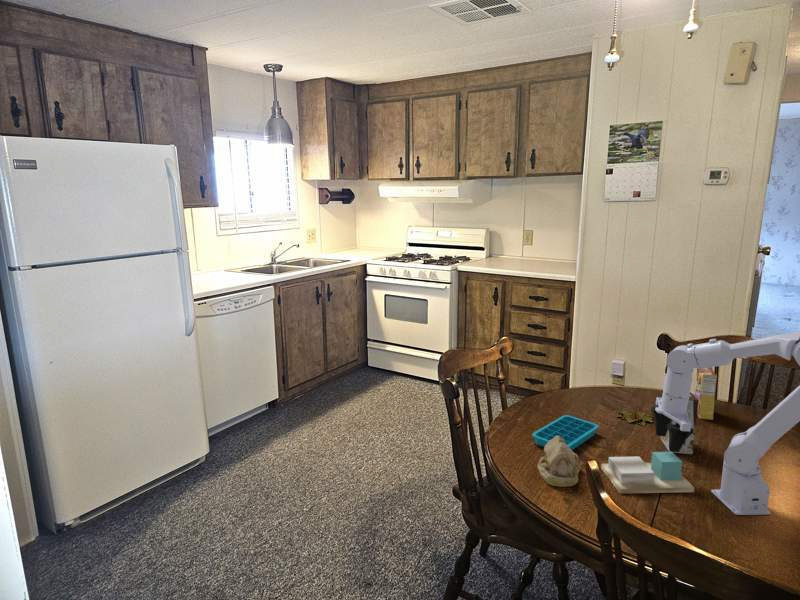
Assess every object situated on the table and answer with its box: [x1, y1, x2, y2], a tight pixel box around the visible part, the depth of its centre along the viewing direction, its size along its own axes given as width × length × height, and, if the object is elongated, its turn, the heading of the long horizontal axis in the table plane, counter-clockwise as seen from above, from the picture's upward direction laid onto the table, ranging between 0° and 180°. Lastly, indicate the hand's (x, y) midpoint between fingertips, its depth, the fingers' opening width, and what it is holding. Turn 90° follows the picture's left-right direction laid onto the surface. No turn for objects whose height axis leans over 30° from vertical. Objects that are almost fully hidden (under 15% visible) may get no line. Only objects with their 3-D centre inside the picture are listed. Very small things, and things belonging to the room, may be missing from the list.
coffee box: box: [659, 391, 699, 455], centre depth 144 cm, size 9×6×16 cm
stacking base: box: [600, 455, 695, 494], centre depth 128 cm, size 12×18×4 cm, turn 90°
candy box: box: [694, 367, 718, 421], centre depth 164 cm, size 9×4×15 cm, turn 160°
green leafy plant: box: [617, 405, 654, 427], centre depth 164 cm, size 12×12×5 cm
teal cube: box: [650, 451, 683, 480], centre depth 128 cm, size 5×5×5 cm
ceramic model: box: [536, 435, 581, 488], centre depth 132 cm, size 14×11×10 cm
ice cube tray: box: [531, 414, 600, 451], centre depth 151 cm, size 12×20×3 cm, turn 133°
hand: (667, 443), depth 127 cm, fingers open, 7 cm apart
